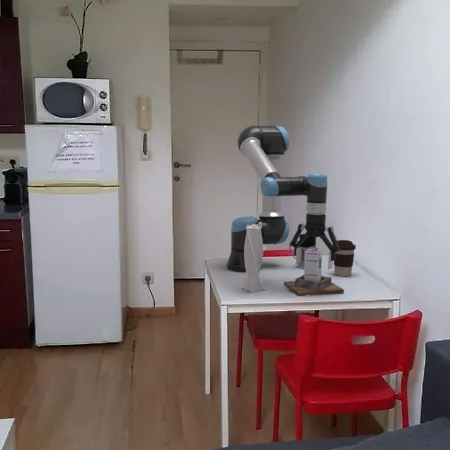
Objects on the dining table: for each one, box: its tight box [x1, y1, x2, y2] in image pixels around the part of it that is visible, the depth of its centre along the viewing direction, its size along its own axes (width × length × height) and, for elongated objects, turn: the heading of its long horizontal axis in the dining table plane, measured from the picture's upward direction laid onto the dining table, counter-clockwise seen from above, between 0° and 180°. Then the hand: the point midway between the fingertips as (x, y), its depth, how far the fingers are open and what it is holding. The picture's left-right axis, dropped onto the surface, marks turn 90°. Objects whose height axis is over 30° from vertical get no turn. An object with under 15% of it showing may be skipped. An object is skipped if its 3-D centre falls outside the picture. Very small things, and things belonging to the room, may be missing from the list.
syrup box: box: [303, 248, 323, 282], centre depth 227 cm, size 6×6×14 cm
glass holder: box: [288, 233, 317, 270], centre depth 264 cm, size 9×14×15 cm, turn 117°
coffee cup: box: [333, 239, 357, 277], centre depth 252 cm, size 10×10×15 cm
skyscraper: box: [241, 222, 266, 293], centre depth 224 cm, size 8×8×28 cm
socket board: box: [283, 274, 345, 297], centre depth 228 cm, size 16×19×4 cm
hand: (313, 266), depth 227 cm, fingers open, 13 cm apart
